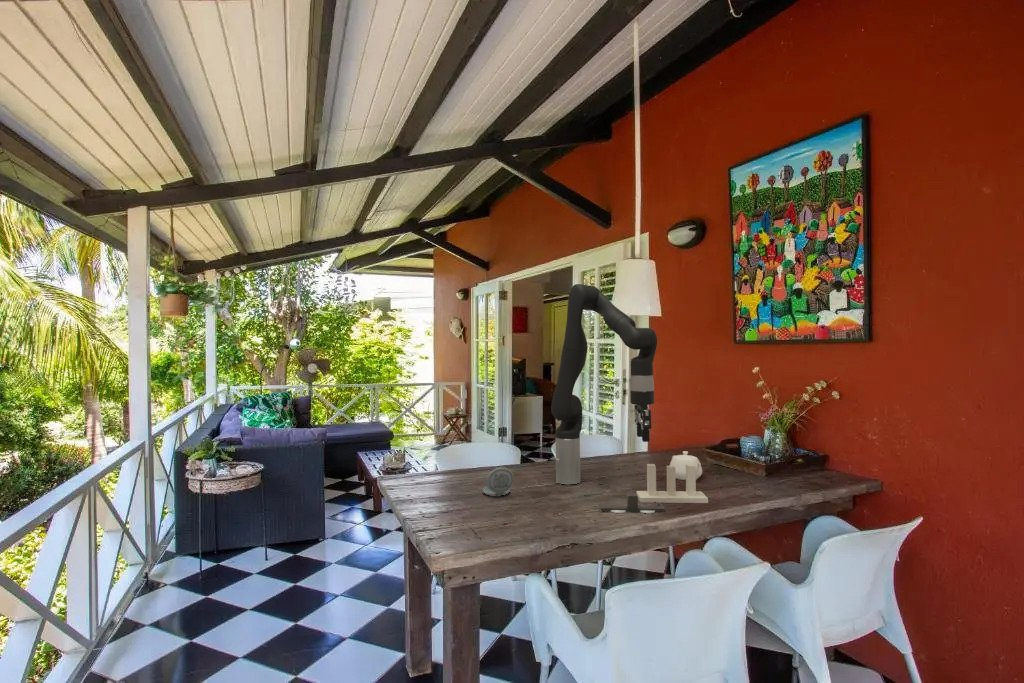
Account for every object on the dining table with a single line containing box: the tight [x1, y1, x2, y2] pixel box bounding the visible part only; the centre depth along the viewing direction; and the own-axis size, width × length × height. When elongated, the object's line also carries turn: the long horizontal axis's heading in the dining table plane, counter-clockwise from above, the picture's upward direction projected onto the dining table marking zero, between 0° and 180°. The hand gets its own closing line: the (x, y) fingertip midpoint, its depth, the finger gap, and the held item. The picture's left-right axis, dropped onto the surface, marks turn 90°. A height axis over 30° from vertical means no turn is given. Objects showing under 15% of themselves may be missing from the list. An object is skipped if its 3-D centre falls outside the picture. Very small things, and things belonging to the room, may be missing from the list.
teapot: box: [669, 450, 703, 481], centre depth 205 cm, size 20×12×10 cm, turn 12°
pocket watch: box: [482, 467, 515, 495], centre depth 188 cm, size 10×11×15 cm
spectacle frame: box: [598, 492, 666, 515], centre depth 168 cm, size 20×9×5 cm, turn 86°
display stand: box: [635, 463, 709, 504], centre depth 178 cm, size 22×8×12 cm, turn 86°
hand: (643, 439), depth 171 cm, fingers open, 8 cm apart
